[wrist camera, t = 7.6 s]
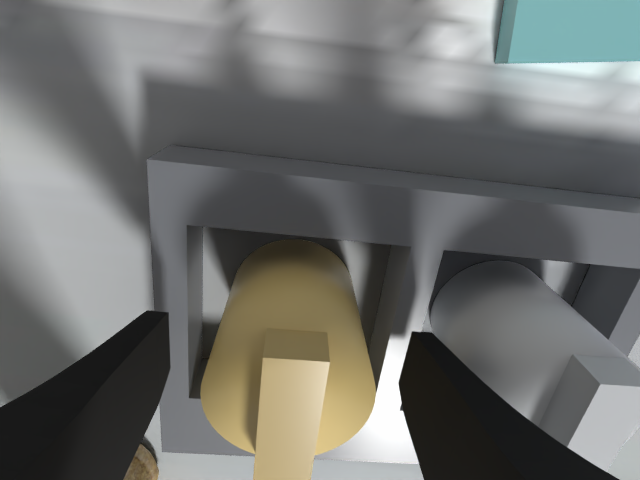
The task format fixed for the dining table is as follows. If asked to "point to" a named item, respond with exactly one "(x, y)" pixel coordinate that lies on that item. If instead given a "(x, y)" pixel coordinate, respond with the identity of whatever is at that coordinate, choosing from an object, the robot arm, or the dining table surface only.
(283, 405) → the beige cylinder with tab
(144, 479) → the spice jar
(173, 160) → the housing
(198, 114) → the dining table surface
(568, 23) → the lid plate
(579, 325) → the grey knob with ridge
